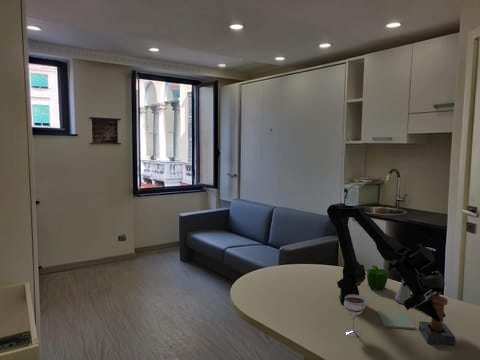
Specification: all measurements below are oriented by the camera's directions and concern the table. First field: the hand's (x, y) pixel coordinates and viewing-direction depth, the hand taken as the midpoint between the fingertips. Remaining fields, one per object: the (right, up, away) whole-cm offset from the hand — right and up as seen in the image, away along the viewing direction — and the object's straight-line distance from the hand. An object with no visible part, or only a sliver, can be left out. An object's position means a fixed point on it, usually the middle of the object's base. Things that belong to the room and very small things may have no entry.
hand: (441, 319), depth 116 cm
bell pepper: (-6, -2, +39) cm, 40 cm away
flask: (0, -4, +27) cm, 28 cm away
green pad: (-10, -5, +12) cm, 16 cm away
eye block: (-1, -7, +2) cm, 7 cm away
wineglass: (-27, -6, +4) cm, 28 cm away
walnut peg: (-1, -6, +2) cm, 7 cm away
